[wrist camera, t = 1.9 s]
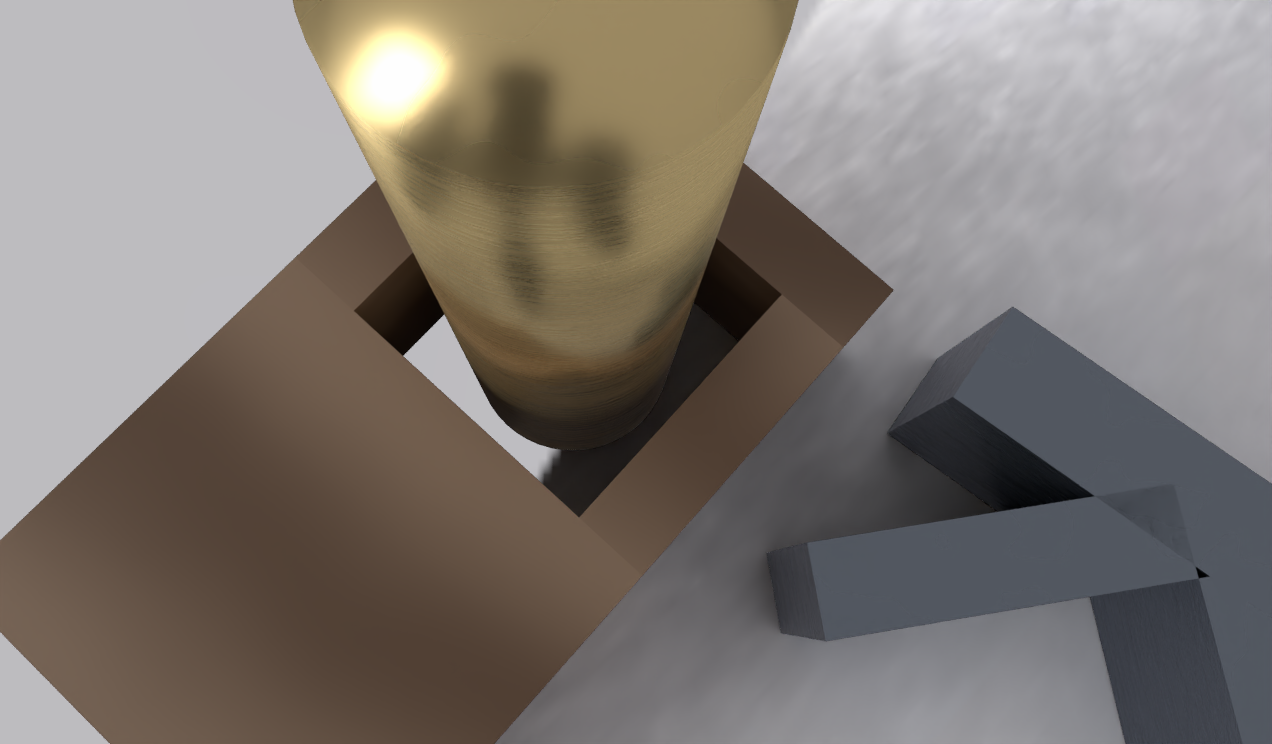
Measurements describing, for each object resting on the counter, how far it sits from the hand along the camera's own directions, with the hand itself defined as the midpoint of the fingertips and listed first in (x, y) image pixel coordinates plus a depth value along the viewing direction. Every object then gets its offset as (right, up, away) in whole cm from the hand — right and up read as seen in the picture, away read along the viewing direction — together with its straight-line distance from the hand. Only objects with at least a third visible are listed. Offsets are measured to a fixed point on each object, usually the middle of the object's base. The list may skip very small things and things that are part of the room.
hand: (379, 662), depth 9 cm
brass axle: (+1, +3, +13) cm, 13 cm away
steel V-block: (+11, -3, +12) cm, 17 cm away
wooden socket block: (-1, +1, +13) cm, 13 cm away
